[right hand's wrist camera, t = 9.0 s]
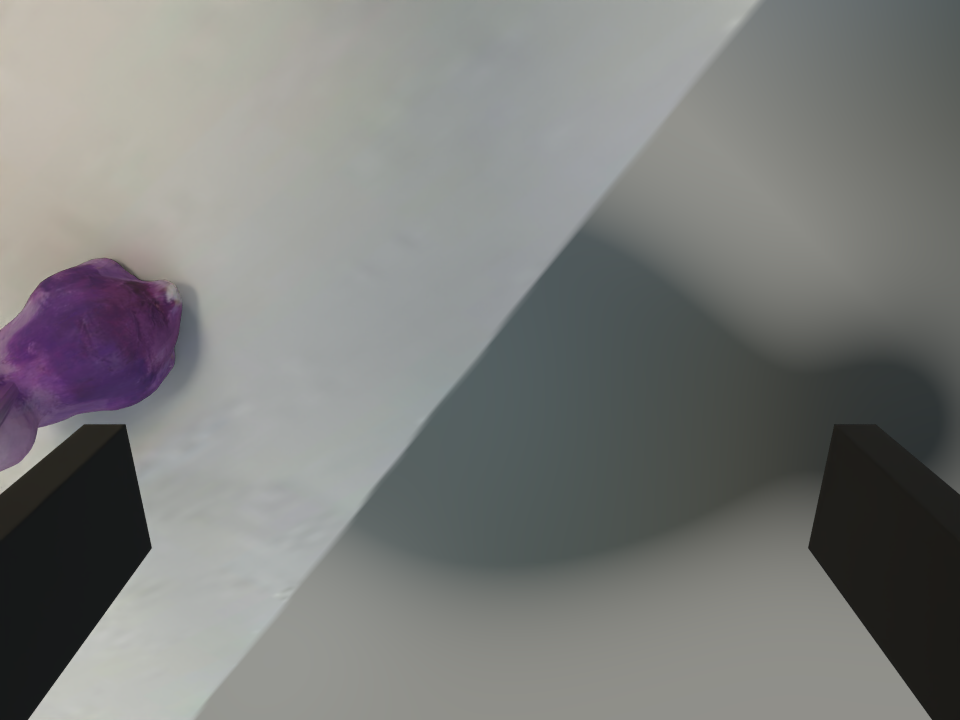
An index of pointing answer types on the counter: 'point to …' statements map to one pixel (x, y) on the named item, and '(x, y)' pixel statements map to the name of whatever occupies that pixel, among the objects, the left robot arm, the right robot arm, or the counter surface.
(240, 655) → the counter surface
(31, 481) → the right robot arm
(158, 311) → the figurine
